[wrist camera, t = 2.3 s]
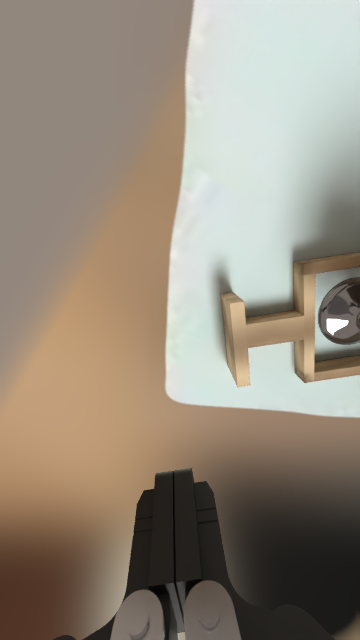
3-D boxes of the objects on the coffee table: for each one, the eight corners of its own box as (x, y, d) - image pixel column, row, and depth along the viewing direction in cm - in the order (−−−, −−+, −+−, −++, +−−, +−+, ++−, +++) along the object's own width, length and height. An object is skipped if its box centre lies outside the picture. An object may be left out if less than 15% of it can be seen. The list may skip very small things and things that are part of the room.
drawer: (218, 273, 24) (227, 279, 20) (419, 242, 24) (466, 243, 20) (229, 383, 28) (239, 405, 24) (404, 356, 28) (442, 375, 24)
